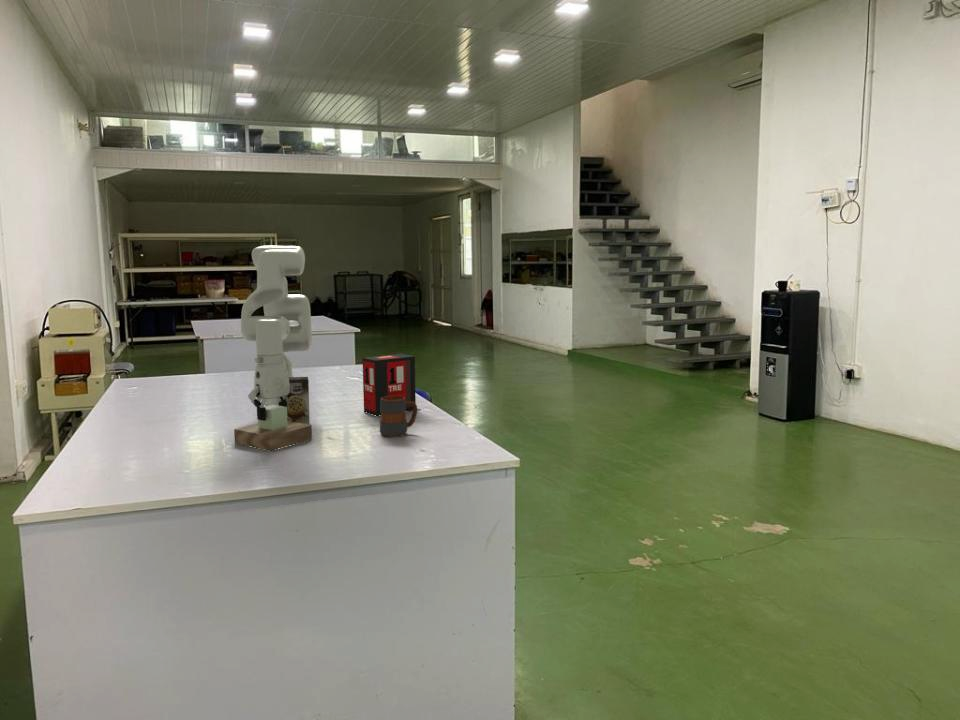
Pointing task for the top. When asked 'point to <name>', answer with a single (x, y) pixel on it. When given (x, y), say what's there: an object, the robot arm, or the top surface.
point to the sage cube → (274, 418)
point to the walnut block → (273, 435)
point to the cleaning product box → (388, 380)
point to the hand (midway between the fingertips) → (272, 417)
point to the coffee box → (299, 401)
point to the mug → (395, 415)
